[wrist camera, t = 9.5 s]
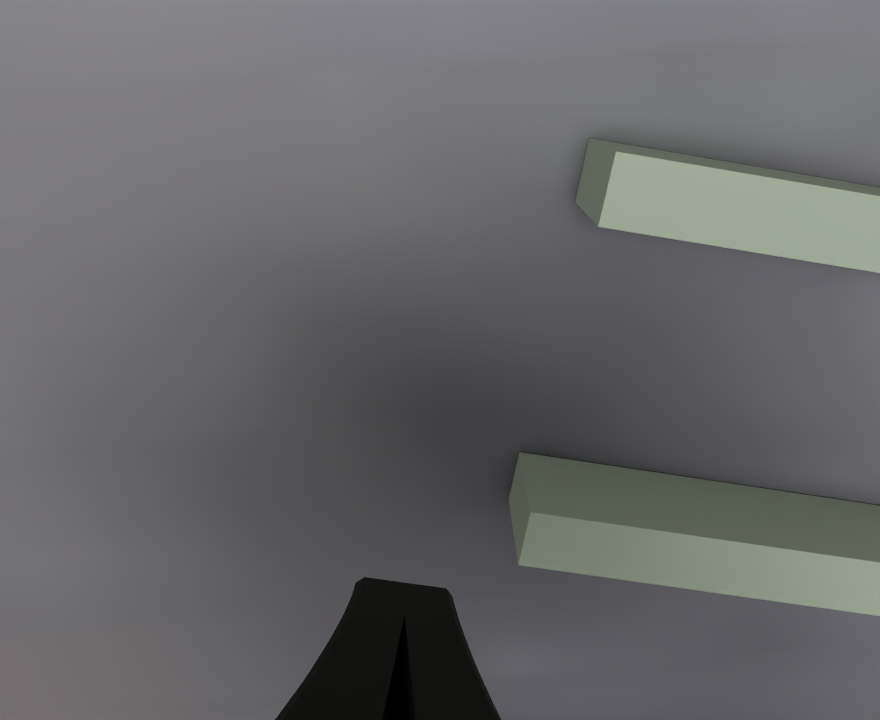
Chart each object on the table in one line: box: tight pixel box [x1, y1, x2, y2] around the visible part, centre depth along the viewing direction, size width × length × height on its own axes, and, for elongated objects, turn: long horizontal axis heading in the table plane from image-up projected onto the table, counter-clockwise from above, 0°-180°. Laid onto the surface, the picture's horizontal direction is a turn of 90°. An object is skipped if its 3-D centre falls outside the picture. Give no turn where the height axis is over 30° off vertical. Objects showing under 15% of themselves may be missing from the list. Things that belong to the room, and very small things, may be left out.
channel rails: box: [509, 138, 880, 616], centre depth 18 cm, size 10×11×3 cm
